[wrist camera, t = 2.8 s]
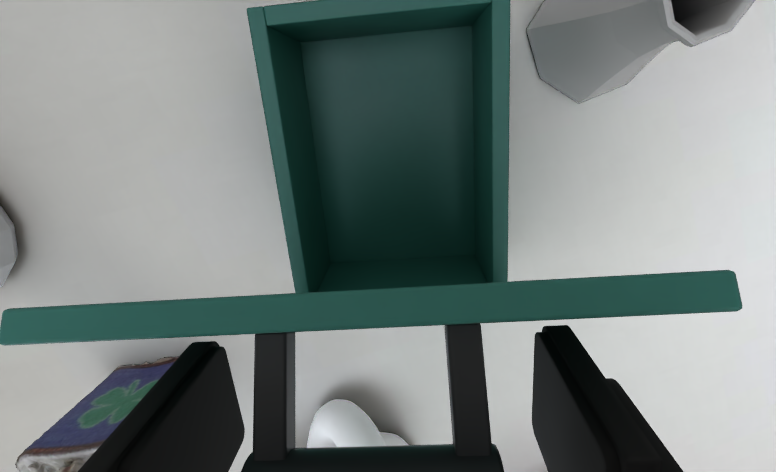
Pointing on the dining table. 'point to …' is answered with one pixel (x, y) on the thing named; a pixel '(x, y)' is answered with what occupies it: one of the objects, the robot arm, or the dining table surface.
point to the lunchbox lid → (376, 310)
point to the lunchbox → (388, 139)
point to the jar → (6, 246)
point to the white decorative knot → (347, 428)
